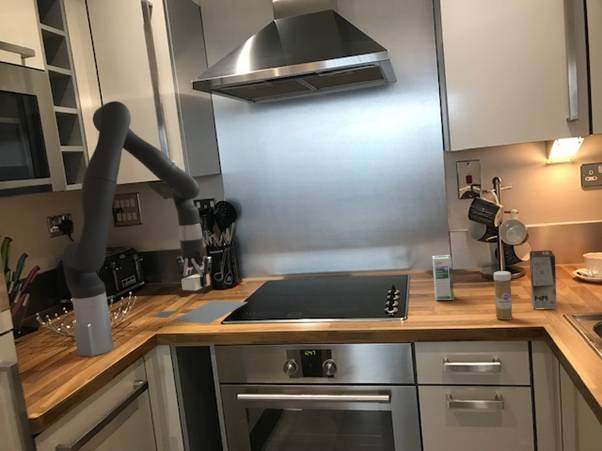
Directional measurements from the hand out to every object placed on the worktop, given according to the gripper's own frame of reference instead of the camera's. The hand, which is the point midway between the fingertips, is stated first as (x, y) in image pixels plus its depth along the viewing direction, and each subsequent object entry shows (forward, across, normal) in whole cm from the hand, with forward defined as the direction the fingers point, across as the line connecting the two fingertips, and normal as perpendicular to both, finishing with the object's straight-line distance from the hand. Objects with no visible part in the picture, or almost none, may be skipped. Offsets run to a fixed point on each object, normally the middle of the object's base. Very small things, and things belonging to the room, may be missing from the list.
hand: (196, 286), depth 173 cm
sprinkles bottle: (+11, +96, +17) cm, 98 cm away
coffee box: (+11, +106, +31) cm, 111 cm away
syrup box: (+11, +76, +34) cm, 84 cm away
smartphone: (+12, -15, -4) cm, 19 cm away
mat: (+11, 0, +6) cm, 13 cm away
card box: (0, 0, 0) cm, 0 cm away
